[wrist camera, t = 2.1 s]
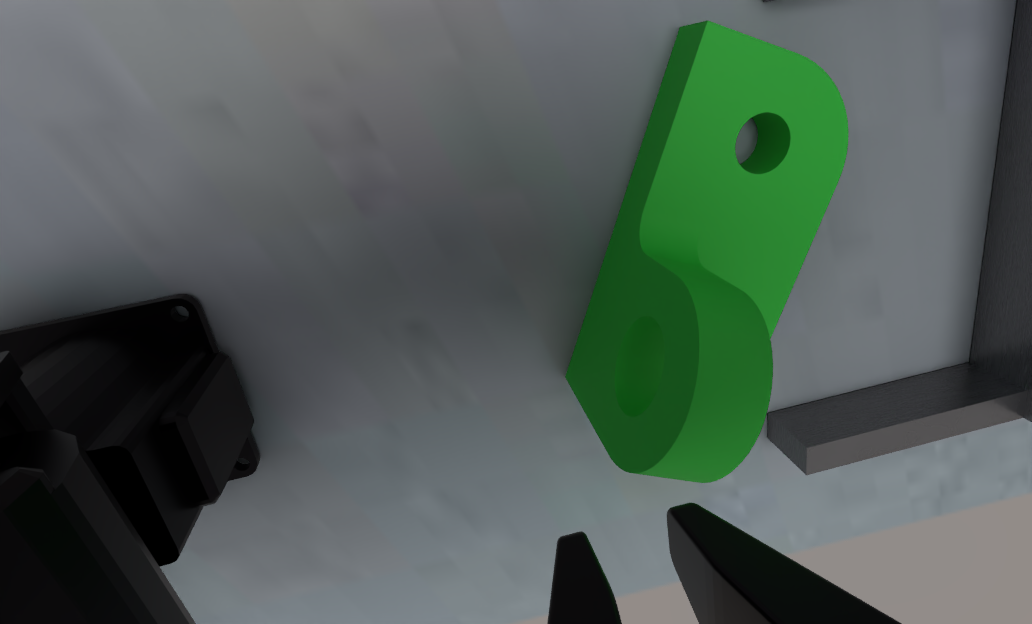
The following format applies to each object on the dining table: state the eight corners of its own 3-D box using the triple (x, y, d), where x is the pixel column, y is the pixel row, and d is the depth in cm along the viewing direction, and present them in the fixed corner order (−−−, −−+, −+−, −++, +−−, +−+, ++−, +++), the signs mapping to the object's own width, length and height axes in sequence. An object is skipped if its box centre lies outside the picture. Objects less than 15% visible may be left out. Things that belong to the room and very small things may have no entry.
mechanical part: (706, 400, 23) (846, 544, 16) (563, 374, 22) (645, 519, 14) (836, 84, 20) (1092, 81, 12) (677, 28, 18) (861, -16, 11)
